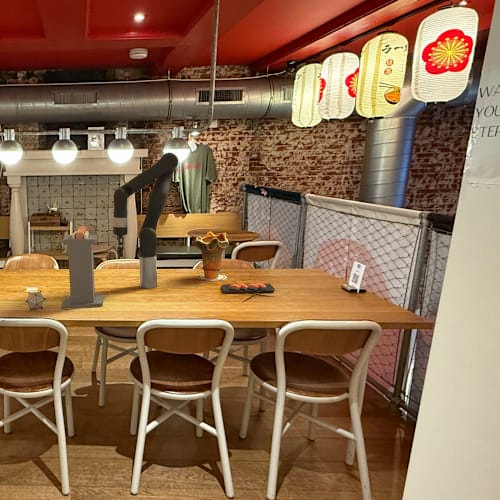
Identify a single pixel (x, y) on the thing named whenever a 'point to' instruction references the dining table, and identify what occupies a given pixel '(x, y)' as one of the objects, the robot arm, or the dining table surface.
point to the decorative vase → (212, 255)
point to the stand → (81, 273)
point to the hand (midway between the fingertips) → (120, 255)
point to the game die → (35, 300)
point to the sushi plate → (248, 288)
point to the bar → (81, 232)
